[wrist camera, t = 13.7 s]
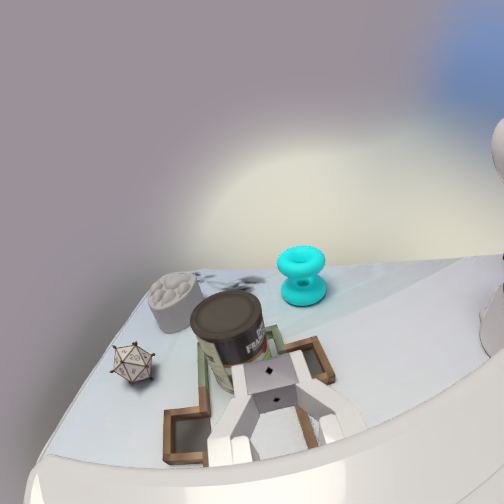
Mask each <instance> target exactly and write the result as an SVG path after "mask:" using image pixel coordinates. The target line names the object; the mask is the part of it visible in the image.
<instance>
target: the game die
mask: <svg viewBox="0 0 504 504" xmlns="http://www.w3.org/2000/svg"><path fill="white" fill-rule="evenodd" d="M137 344H138V343H137V341H136V342H135V343H134V342H133V343H132V345H131V346H125V347H120V348H116V347H115V346H114V345H112V346H113V348H114V349H116V350H115V359H114V370H112V371H110V373H113V372H115V373H117V374H118V375H120V376H122V377H123V378H125V379H126V380H128V381H129V383H131V386H133V383H134V382H137V381H140V380H144V379H147V378H150V379H151V380H153V378H152V377H150V372H151V361H152V356H155V354H154V353H153V354H152V355H151V354H149V353H148V352H146V351H145V350H143V349H142V348H140V347H138V346H137Z"/></svg>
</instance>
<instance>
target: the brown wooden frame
mask: <svg viewBox="0 0 504 504" xmlns="http://www.w3.org/2000/svg"><path fill="white" fill-rule="evenodd" d="M265 330H266V335H267V339H269V338H273V339H274V342H275V345H276V348H277V351H278V355H282V354H286V353H291V352H294V351H298V350H301V351H302V353H303V356H304V358H305V361H306V364H307V366H308V369H309V372H310V374H311V377H312V379H315V378H316V379H317V380H319V381H321V382H322V383H324V384H325V385H328V384H331V383H334V382H335V374H334V372H333V369H332V367H331V365H330V363H329V361H328V359H327V357H326V355H325V353H324V350H323V348H322V346H321V344H320V342H319V340H318V338H317V336H313V337H310V338H307V339H303V340H300V341H296V342H293V343H289V344H285V345H283V342H282V339H281V336H280V333H279V330H278V327H277V324H276V325H273V326H269V327H265ZM197 343H198V389H199V406H196V407H188V408H180V409H170V410H164V424H163V461H164V462H165V463H167V464H168V465H178V464H196V463H203V467H209V459H208V445H207V439H208V438H209V436H210V434H211V427H210V417H211V412H210V399H209V384H208V368H207V358H206V356H205V354H204V352H203V350H202V348H201V346H200V343H199V342H197ZM295 409H296V412H297V415H298V418H299V421H300V424H301V428H302V431H303V434H304V437H305V440H306V443H307V446H308V449H311V448H315V447H318V444H317V441H316V438H315V435H314V432H313V429H312V426H311V423H310V420H309V418H308V415H307V412H305V411H304V410H303V409H302V408H301V407H299V406H298V405H295Z"/></svg>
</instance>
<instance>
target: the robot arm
mask: <svg viewBox="0 0 504 504" xmlns="http://www.w3.org/2000/svg"><path fill="white" fill-rule="evenodd" d="M491 148H492V149H491V150H492V158H493V162H494V166H495V168H496V171H497V173H498V175H499V177H500V179H501V180H502V181H503V183H504V118H503V119H502V120H501V121H500V122H499V123H498V125H497V126H496V128H495V130H494V133H493V137H492V145H491ZM480 319H481V328H480V339H481V343H482V345H483V347H484V349H485V351H486V352H487V353H488V355H489V356H490V357H491V358H489V359H488V360H487V361H486V362H484V363H483V364H482V365H480V366H479V367H478V368H476V369H475V370H474V371H472V372H471V373H469V374H468V375H467V376H465V377H464V378H462V379H461V380H459V381H458V382H456V383H455V384H453V385H452V386H450V387H449V388H447V389H445V390H444V391H442V392H440V393H439V394H437V395H435V396H434V397H432V398H430V399H429V400H427V401H425V402H423V403H421V404H420V405H418V406H416V407H414V408H412V409H410V410H408V411H406V412H404V413H402V414H400V415H398V416H396V417H394V418H392V419H390V420H388V421H385V422H383V423H381V424H379V425H376V426H374V427H372V428H369V429H368V428H367V426H366V423H365V421H364V419H363V417H362V414H361V412H360V410H359V408H358V405H357V404H356V403H354V402H352V401H351V400H349V399H348V398H346V397H344V396H343V395H341V394H339V393H338V392H336V391H335V390H333V389H331V388H330V387H328V386H327V385H325V384H324V383H322V382H321V381H319V380H317V379H316V378H315V379H312V377H311V374H310V372H309V369H308V366H307V364H306V361H305V358H304V356H303V353H302V351H301V350H298V351H294V352H291V353H286V354H282V355H278V356H275V357H271V358H267V359H265V360H260V361H255V362H250V363H245V364H240V365H235V366H232V368H231V371H232V379H233V387H234V395H235V398H231V400H230V402H229V404H228V405H227V407H226V409H225V411H224V412H223V414H222V416H221V417H220V419H219V421H218V422H217V424H216V426H215V428H214V429H213V431H212V433H211V434H210V436H209V438H208V439H207V445H208V459H209V467H202V468H180V469H157V468H135V467H122V466H113V465H105V464H98V463H91V462H85V461H80V460H75V459H70V458H65V457H61V456H57V455H53V454H49V455H47V456H45V457H44V458H43V459H42V460H41V461H40V462H39V463H38V464H37V465H36V466H35V467H34V468H33V469H32V470H31V472H30V475H29V477H28V481H27V485H26V490H25V496H24V504H504V283H503V284H502V285H500V286H498V287H497V288H496V290H495V292H494V295H493V297H492V299H491V301H490V304H489V306H488V307H486V308H483V309H482V310H481V312H480ZM295 405H298V406H299V407H301V408H302V409H303V410H304V411H305V412H307V413H308V414H309V415H310V416H312V417H313V418H314V419H315V420H317V421H318V422H319V435H318V441H319V444H320V446H318V447H315V448H311V449H308V450H304V451H300V452H296V453H292V454H288V455H284V456H279V457H275V458H270V459H265V460H260V457H259V454H258V452H257V451H256V449H255V448H254V446H253V444H252V443H251V441H250V438H251V436H252V433H253V431H254V429H255V426H256V424H257V422H258V419H259V417H260V414H262V413H266V412H270V411H274V410H278V409H282V408H287V407H291V406H295Z"/></svg>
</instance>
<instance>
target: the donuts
mask: <svg viewBox="0 0 504 504" xmlns="http://www.w3.org/2000/svg"><path fill="white" fill-rule="evenodd" d="M324 265H325V257H324V254H323V253H322V252H321V251H320V250H318V249H317V248H314V247H311V246H297V247H293V248H290V249H287V250H286V251H284V252H283V253H282V254H281V255H280V256H279V258H278V260H277V266H278V269H279V271H280V272H281V273H282V274H283V275H285V276H286V277H289V278H287V279H286V280H285V281H284V283H283V285H282V288H281V293H282V296H283V298H284V299H285V300H286V301H287V302H289V303H291V304H293V305H298V306H307V305H311V304H314V303H316V302H318V301H319V300H321V299H322V298H323V296H324V295H325V293H326V283H325V281H324V280H323V279H322V278H321V277H320V276H319V275H317V274H318V273H319V272H320V271H321V270H322V269H323V267H324Z"/></svg>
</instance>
